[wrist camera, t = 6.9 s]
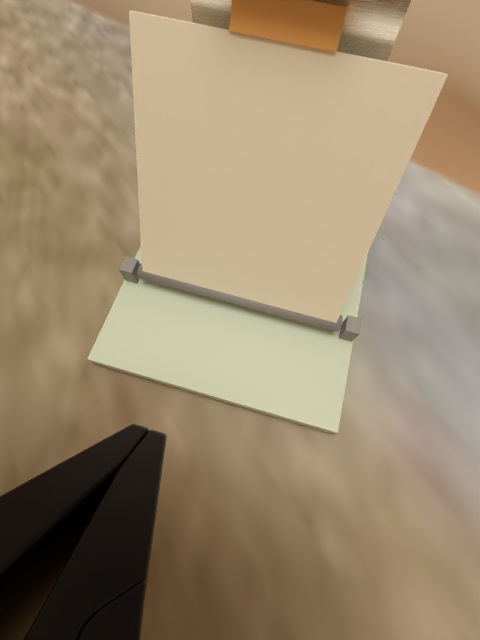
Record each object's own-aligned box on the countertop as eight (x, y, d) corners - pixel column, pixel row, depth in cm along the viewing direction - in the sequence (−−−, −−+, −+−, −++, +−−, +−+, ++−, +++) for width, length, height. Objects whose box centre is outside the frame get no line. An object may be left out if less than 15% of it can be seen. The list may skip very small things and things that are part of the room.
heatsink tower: (314, 254, 23) (441, -59, 9) (202, 226, 24) (160, -106, 10) (326, 202, 25) (449, -129, 11) (221, 177, 26) (209, -165, 12)
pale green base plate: (332, 433, 20) (345, 431, 18) (93, 363, 21) (77, 352, 19) (371, 208, 26) (384, 185, 24) (185, 164, 27) (181, 138, 25)
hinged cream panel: (336, 335, 20) (477, 31, 11) (137, 281, 21) (117, -36, 12) (337, 324, 21) (469, 32, 12) (144, 273, 22) (130, -32, 13)
